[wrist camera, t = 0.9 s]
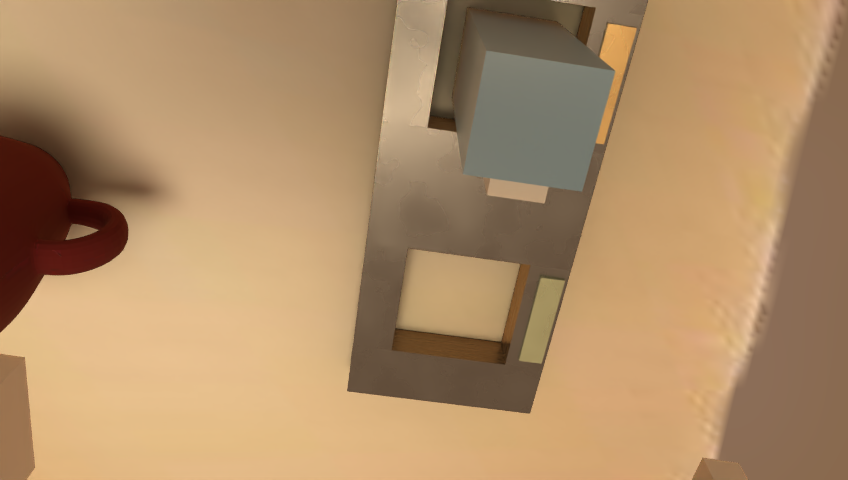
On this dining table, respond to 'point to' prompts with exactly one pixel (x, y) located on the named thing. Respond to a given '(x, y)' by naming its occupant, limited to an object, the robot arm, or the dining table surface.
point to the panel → (468, 227)
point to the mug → (46, 226)
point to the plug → (527, 104)
